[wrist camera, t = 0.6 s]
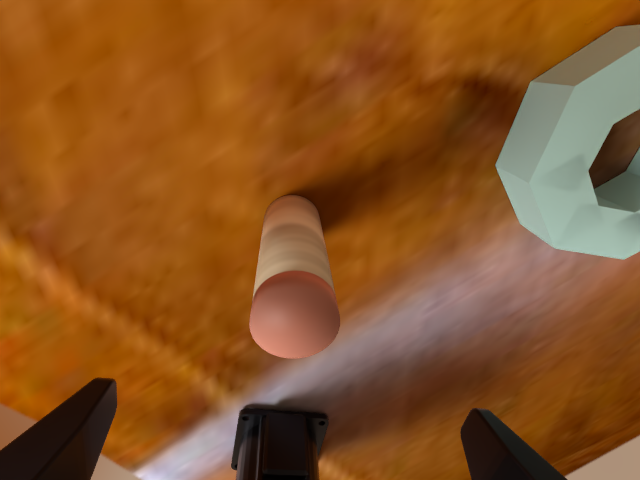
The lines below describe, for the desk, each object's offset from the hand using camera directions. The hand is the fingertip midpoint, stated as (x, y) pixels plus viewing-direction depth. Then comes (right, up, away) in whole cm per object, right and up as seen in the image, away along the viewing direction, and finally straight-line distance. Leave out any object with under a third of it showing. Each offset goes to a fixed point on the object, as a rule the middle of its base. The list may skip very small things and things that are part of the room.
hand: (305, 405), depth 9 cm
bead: (+15, +9, +10) cm, 20 cm away
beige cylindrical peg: (-1, +5, +11) cm, 12 cm away
